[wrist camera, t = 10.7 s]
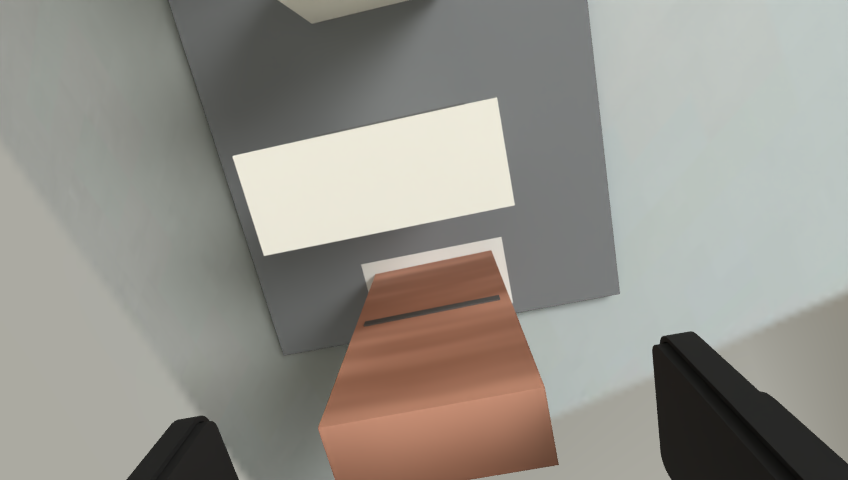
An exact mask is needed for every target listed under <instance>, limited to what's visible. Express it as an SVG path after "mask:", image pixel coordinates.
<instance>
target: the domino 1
mask: <svg viewBox="0 0 848 480" xmlns="http://www.w3.org/2000/svg"><path fill="white" fill-rule="evenodd" d="M278 1H280V2H281V3H283V4H284V5H285V6H287V7H288V8H290V9H291V10H293V11H294V12H296V13H297V14H298V15H300V16H301V17H303V18H304V19H306V20H307V21H309V22H310V23H311V24H313V23H317V22H321V21H325V20H330V19H334V18H338V17H342V16H346V15H350V14H354V13H358V12H363V11H367V10H371V9H375V8H379V7H383V6H387V5H392V4H396V3H400V2H404V1H408V0H278Z"/></svg>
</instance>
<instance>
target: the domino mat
mask: <svg viewBox="0 0 848 480" xmlns="http://www.w3.org/2000/svg"><path fill="white" fill-rule="evenodd" d="M168 1H169V4H170V8H171V11H172V14H173V17H174V20H175V23H176V26H177V29H178V32H179V35H180V38H181V41H182V44H183V47H184V51H185V54H186V57H187V60H188V63H189V66H190V69H191V72H192V75H193V78H194V81H195V84H196V87H197V90H198V94H199V97H200V100H201V103H202V106H203V109H204V112H205V115H206V118H207V121H208V124H209V127H210V130H211V134H212V137H213V140H214V143H215V146H216V149H217V152H218V155H219V158H220V161H221V164H222V167H223V170H224V173H225V177H226V180H227V183H228V186H229V189H230V192H231V195H232V198H233V201H234V204H235V207H236V210H237V213H238V216H239V220H240V223H241V226H242V229H243V232H244V235H245V238H246V241H247V244H248V247H249V250H250V253H251V256H252V260H253V263H254V266H255V269H256V272H257V275H258V278H259V281H260V284H261V287H262V290H263V293H264V296H265V299H266V303H267V306H268V309H269V312H270V315H271V318H272V321H273V324H274V327H275V330H276V333H277V336H278V339H279V342H280V346H281V349H282V352H283V355H289V354H295V353H300V352H306V351H311V350H317V349H322V348H328V347H333V346H339V345H344V344H349V343H350V341H351V338H352V336H353V333H354V330H355V328H356V325H357V322H358V319H359V317H360V314H361V311H362V309H363V306H364V303H365V301H366V298H367V295H368V293H369V290H370V287H371V285H372V282H373V279H374V277H375V274H379V273H384V272H388V271H393V270H398V269H403V268H408V267H412V266H417V265H422V264H427V263H432V262H437V261H441V260H446V259H451V258H456V257H461V256H465V255H470V254H475V253H480V252H485V251H490V250H491V251H492V253H493V256H494V259H495V261H496V264H497V266H498V269H499V271H500V274H501V276H502V279H503V282H504V284H505V287H506V289H507V292H508V294H509V297H510V300H511V302H512V305H513V307H514V310H515V312H516V313H519V312H524V311H529V310H535V309H540V308H546V307H551V306H557V305H562V304H568V303H573V302H579V301H584V300H589V299H595V298H600V297H606V296H611V295H617V294H620V290H619V281H618V272H617V263H616V254H615V245H614V236H613V227H612V218H611V209H610V200H609V191H608V182H607V173H606V164H605V155H604V146H603V137H602V128H601V119H600V110H599V101H598V92H597V83H596V74H595V65H594V56H593V47H592V38H591V29H590V20H589V11H588V2H587V0H408V1H404V2H400V3H396V4H392V5H387V6H383V7H379V8H375V9H371V10H367V11H363V12H358V13H354V14H350V15H346V16H342V17H338V18H334V19H330V20H325V21H321V22H317V23H313V24H311V23H310V22H309V21H307V20H306V19H304V18H303V17H301V16H300V15H298V14H297V13H296V12H294V11H293V10H291V9H290V8H288V7H287V6H285V5H284V4H283V3H281V2H280V1H278V0H168ZM496 97H497V100H498V106H499V112H500V118H501V124H502V130H503V136H504V143H505V149H506V155H507V161H508V167H509V173H510V179H511V185H512V191H513V197H514V203H515V205H514V206H509V207H504V208H499V209H494V210H489V211H484V212H479V213H474V214H469V215H464V216H459V217H455V218H450V219H445V220H440V221H435V222H430V223H425V224H420V225H415V226H410V227H405V228H400V229H395V230H390V231H385V232H380V233H375V234H370V235H365V236H361V237H356V238H351V239H346V240H341V241H336V242H331V243H326V244H321V245H316V246H311V247H306V248H301V249H296V250H291V251H286V252H281V253H276V254H271V255H267V256H264V254H263V251H262V248H261V245H260V242H259V239H258V236H257V232H256V229H255V226H254V223H253V220H252V217H251V214H250V210H249V207H248V204H247V201H246V198H245V195H244V192H243V188H242V185H241V182H240V179H239V176H238V173H237V170H236V166H235V163H234V160H233V157H232V156H234V155H239V154H243V153H248V152H252V151H257V150H261V149H266V148H270V147H274V146H279V145H283V144H288V143H292V142H297V141H301V140H306V139H310V138H313V136H315V135H320V134H324V133H329V132H333V131H338V130H342V129H347V128H351V127H356V126H360V125H365V124H369V123H374V122H378V121H383V120H387V119H392V118H396V117H401V116H405V115H410V114H414V113H419V112H423V111H428V110H432V109H437V108H441V107H446V106H450V105H455V104H459V103H465V104H468V103H472V102H477V101H482V100H487V99H491V98H496Z"/></svg>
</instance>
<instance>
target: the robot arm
mask: <svg viewBox="0 0 848 480" xmlns="http://www.w3.org/2000/svg"><path fill="white" fill-rule="evenodd" d="M652 354H653V366H654V378H655V389H656V400H657V414H658V426H659V438H660V450H661V457H662V460H663V464H664V466H665V469H666V471H667V473H668V475H669V476H670V478H671V480H848V464H847V463H846V462H845V461H844V460H843V459H842V458H841V457H839V456H838V455H837V454H836V453H835V452H834V451H833V450H832V449H830V448H829V447H828V446H827V445H826V444H825V443H824V442H823V441H821V440H820V439H819V438H818V437H817V436H816V435H815V434H814V433H812V432H811V431H810V430H809V429H808V428H807V427H806V426H805V425H804V424H802V423H801V422H800V421H799V420H798V419H797V418H796V417H795V416H793V415H792V414H791V413H790V412H789V411H788V410H787V409H785V408H784V407H783V406H782V405H781V404H780V403H779V402H778V401H777V400H775V399H774V398H773V397H772V396H770V395H769V394H767V393H765V392H760V391H758V390H757V389H756V388H755V387H754V386H753V385H752V384H751V383H750V382H749V381H747V380H746V379H745V378H744V377H743V376H742V375H741V374H740V373H739V372H738V371H737V370H735V369H734V368H733V367H732V366H731V365H730V364H729V363H728V362H727V361H726V360H724V359H723V358H722V357H721V356H720V355H719V354H718V353H717V352H716V351H715V350H713V349H712V348H711V347H710V346H709V345H708V344H707V343H706V342H705V341H704V340H703V339H701V338H700V337H699V336H698V335H697V334H696V333H694V332H684V333H679V334H673V335H667V336H663V337H662V338H661V340H660V344H659V345H654V346H653V349H652ZM127 480H239V479H238V477H237V474H236V472H235V469H234V467H233V464H232V462H231V459H230V457H229V454H228V452H227V449H226V447H225V444H224V442H223V440H222V437H221V435H220V432H219V430H218V427H217V425H216V424H215V423H214V422H213V421H209V420H208V418H206V417H205V416H197V417H191V418H186V419H180V420H176V421H174V423H172V424H171V425H170V427H169V428H168V429H167V430H166V432H165V433H164V434H163V435H162V437H161V438H160V439H159V440H158V441H157V443H156V444H155V445H154V446H153V448H152V449H151V450H150V451H149V453H148V454H147V455H146V456H145V458H144V459H143V460H142V461H141V462H140V464H139V465H138V466H137V467H136V469H135V470H134V471H133V472H132V474H131V475H130V476H129V477H128V479H127Z"/></svg>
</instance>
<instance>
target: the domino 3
mask: <svg viewBox="0 0 848 480" xmlns="http://www.w3.org/2000/svg"><path fill="white" fill-rule="evenodd" d="M318 430H319V433H320V436H321V439H322V442H323V445H324V448H325V451H326V454H327V457H328V460H329V463H330V466H331V469H332V472H333V475H334V478H335V480H470V479H477V478H482V477H489V476H494V475H501V474H507V473H513V472H519V471H525V470H530V469H537V468H543V467H549V466H554V465H559V464H558V459H557V453H556V448H555V442H554V437H553V431H552V425H551V420H550V414H549V409H548V403H547V398H546V392H545V387H544V384H543V382H542V379H541V377H540V374H539V372H538V369H537V366H536V364H535V361H534V359H533V356H532V354H531V351H530V348H529V346H528V343H527V341H526V338H525V336H524V333H523V330H522V328H521V325H520V323H519V320H518V318H517V315H516V312H515V310H514V307H513V305H512V302H511V300H510V297H509V294H508V292H507V289H506V287H505V284H504V282H503V279H502V276H501V274H500V271H499V269H498V266H497V264H496V261H495V259H494V256H493V253H492V251H491V250H490V251H485V252H480V253H475V254H470V255H465V256H461V257H456V258H451V259H446V260H441V261H437V262H432V263H427V264H422V265H417V266H412V267H408V268H403V269H398V270H393V271H388V272H384V273H379V274H375V277H374V279H373V282H372V285H371V287H370V290H369V293H368V295H367V298H366V301H365V303H364V306H363V309H362V311H361V314H360V317H359V319H358V322H357V325H356V328H355V330H354V333H353V336H352V338H351V341H350V344H349V346H348V349H347V352H346V354H345V357H344V360H343V362H342V365H341V368H340V370H339V373H338V376H337V378H336V381H335V384H334V386H333V389H332V392H331V395H330V397H329V400H328V403H327V405H326V408H325V411H324V413H323V416H322V419H321V421H320V424H319V427H318Z"/></svg>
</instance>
